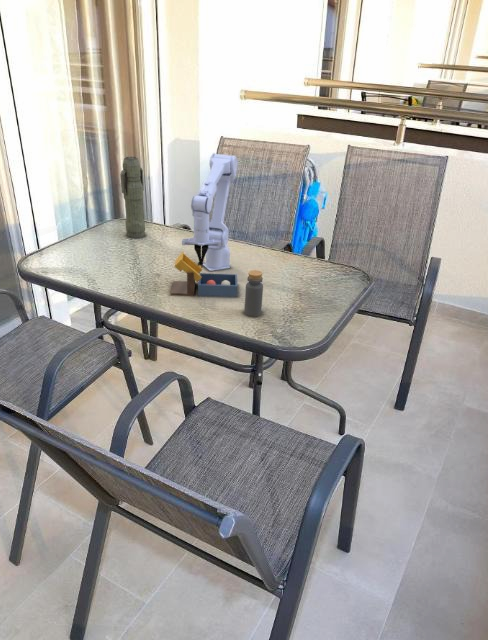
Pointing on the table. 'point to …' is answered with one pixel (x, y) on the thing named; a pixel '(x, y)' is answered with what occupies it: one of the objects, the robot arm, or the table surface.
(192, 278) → the dish stand
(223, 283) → the ball cream
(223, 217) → the robot arm
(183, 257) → the yellow tray
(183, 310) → the table surface
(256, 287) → the bottle
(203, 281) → the bin
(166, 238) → the table surface
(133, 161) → the stone statue
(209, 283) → the ball coral
